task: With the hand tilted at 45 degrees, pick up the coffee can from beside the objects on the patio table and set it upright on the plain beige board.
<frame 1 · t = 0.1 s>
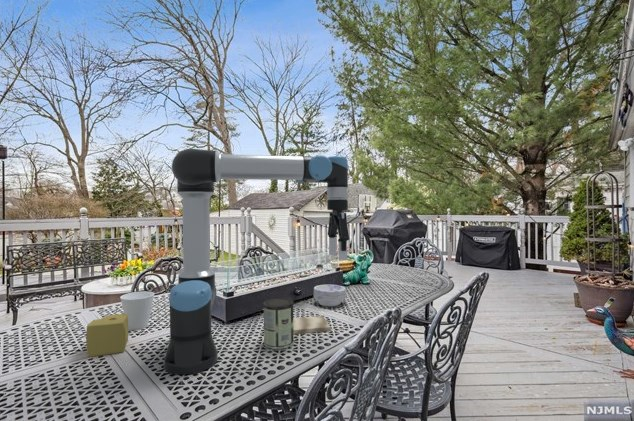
hand: (337, 257, 126), 28 cm above the table, tool pointing down, fingers open, 13 cm apart
cup: (138, 327, 133), on the table
plain beige board: (303, 326, 133), on the table
coffee can: (278, 343, 117), on the table
cheese: (109, 349, 113), on the table
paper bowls: (329, 304, 163), on the table
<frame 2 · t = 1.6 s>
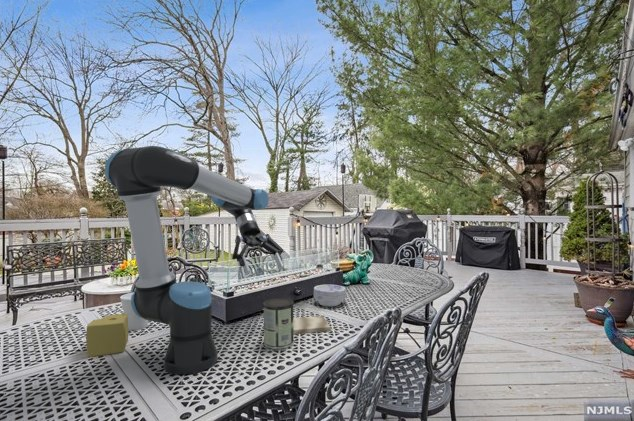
hand: (265, 270, 126), 23 cm above the table, tool tilted 45°, fingers open, 13 cm apart
nothing on the table moved.
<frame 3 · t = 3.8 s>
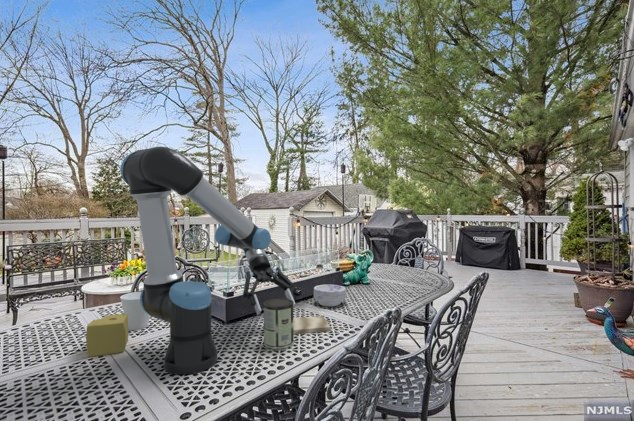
hand: (276, 309, 122), 10 cm above the table, tool tilted 45°, fingers open, 13 cm apart
nothing on the table moved.
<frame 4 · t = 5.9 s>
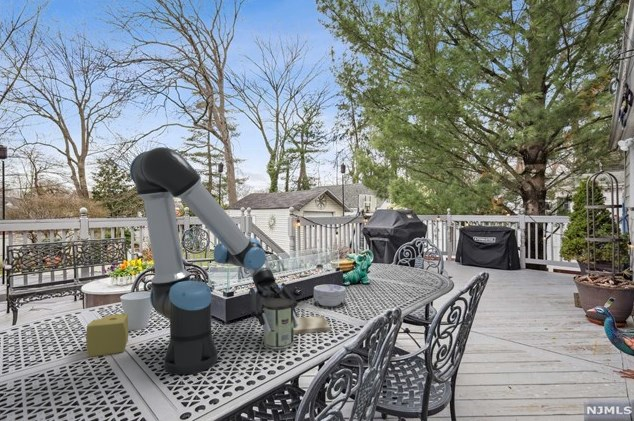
hand: (283, 329, 115), 6 cm above the table, tool tilted 45°, fingers closed on coffee can, 10 cm apart
coffee can: (278, 343, 117), on the table, touching gripper
everything else where it was.
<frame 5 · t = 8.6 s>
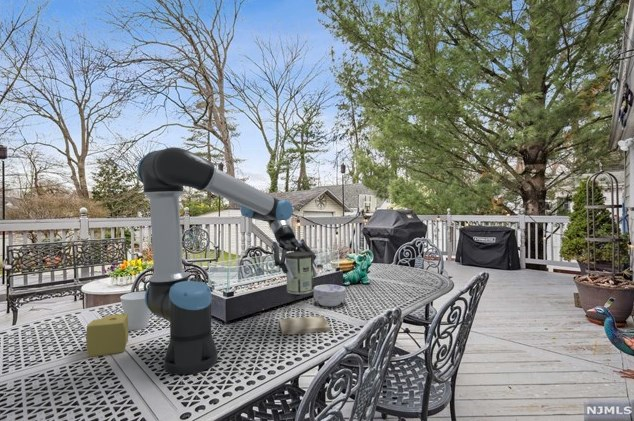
hand: (304, 277, 126), 20 cm above the table, tool tilted 45°, fingers closed on coffee can, 10 cm apart
coffee can: (300, 291, 129), point 15 cm above the table, touching gripper
everything else where it was.
when the fingers open (8 cm above the table, at t = 11.4 s): coffee can drops 1 cm, resting on plain beige board.
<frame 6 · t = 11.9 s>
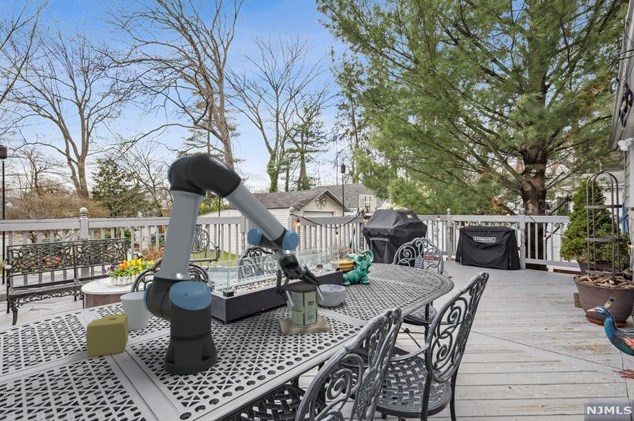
hand: (307, 304, 131), 9 cm above the table, tool tilted 45°, fingers open, 13 cm apart
coffee can: (304, 323, 133), point 1 cm above the table, touching plain beige board
everything else where it was.
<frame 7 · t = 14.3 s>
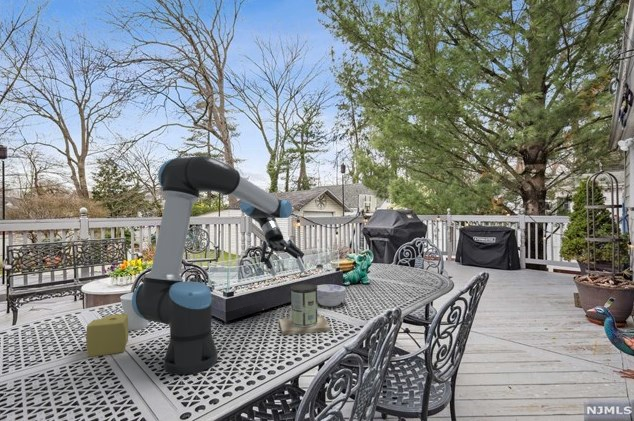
hand: (289, 272, 141), 19 cm above the table, tool tilted 45°, fingers open, 13 cm apart
nothing on the table moved.
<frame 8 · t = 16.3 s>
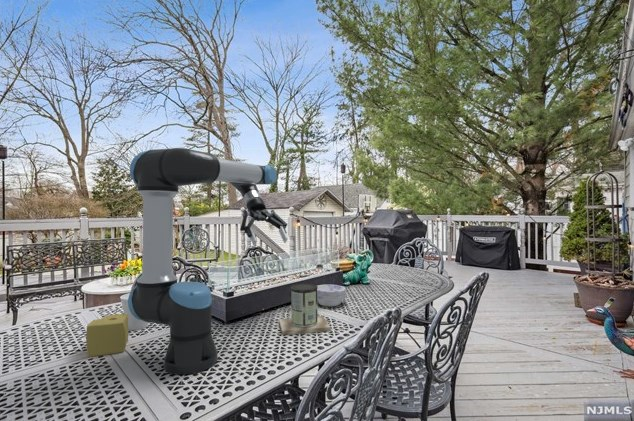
hand: (271, 241, 135), 33 cm above the table, tool tilted 45°, fingers open, 13 cm apart
nothing on the table moved.
at the end: coffee can inside the target area on the plain beige board (0.1 cm from its centre), point 1.3 cm above the plain beige board's base; coffee can tilted 0°; the gripper is holding nothing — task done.
